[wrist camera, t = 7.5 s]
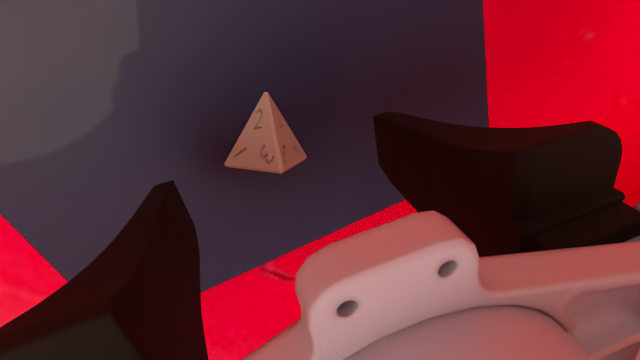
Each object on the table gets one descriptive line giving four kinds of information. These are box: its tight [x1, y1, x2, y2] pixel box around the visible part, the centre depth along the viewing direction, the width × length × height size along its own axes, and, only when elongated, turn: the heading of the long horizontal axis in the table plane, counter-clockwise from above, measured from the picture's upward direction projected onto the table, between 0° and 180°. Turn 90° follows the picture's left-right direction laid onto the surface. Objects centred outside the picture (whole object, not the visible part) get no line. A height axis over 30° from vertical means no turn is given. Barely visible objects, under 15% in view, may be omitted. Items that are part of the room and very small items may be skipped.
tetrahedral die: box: [224, 92, 307, 174], centre depth 16 cm, size 4×3×3 cm
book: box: [0, 0, 489, 292], centre depth 17 cm, size 14×20×3 cm
